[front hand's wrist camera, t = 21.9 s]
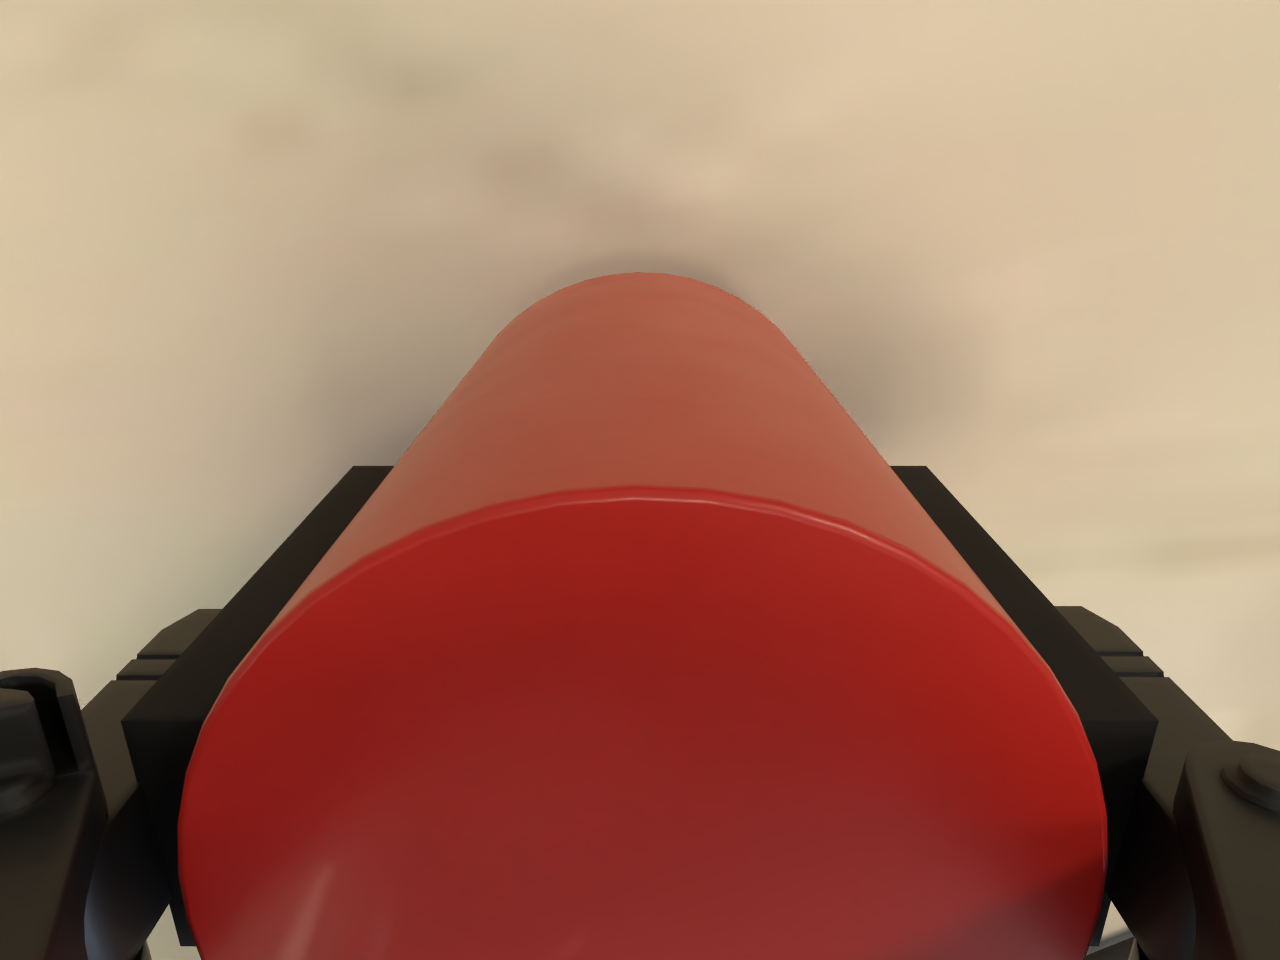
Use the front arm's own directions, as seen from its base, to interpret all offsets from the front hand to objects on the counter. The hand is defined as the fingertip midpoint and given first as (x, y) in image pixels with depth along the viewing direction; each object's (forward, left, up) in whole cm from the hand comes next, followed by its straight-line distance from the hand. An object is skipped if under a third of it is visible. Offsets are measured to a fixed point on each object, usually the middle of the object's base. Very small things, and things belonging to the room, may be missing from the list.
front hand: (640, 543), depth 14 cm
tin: (0, 0, -4) cm, 4 cm away
